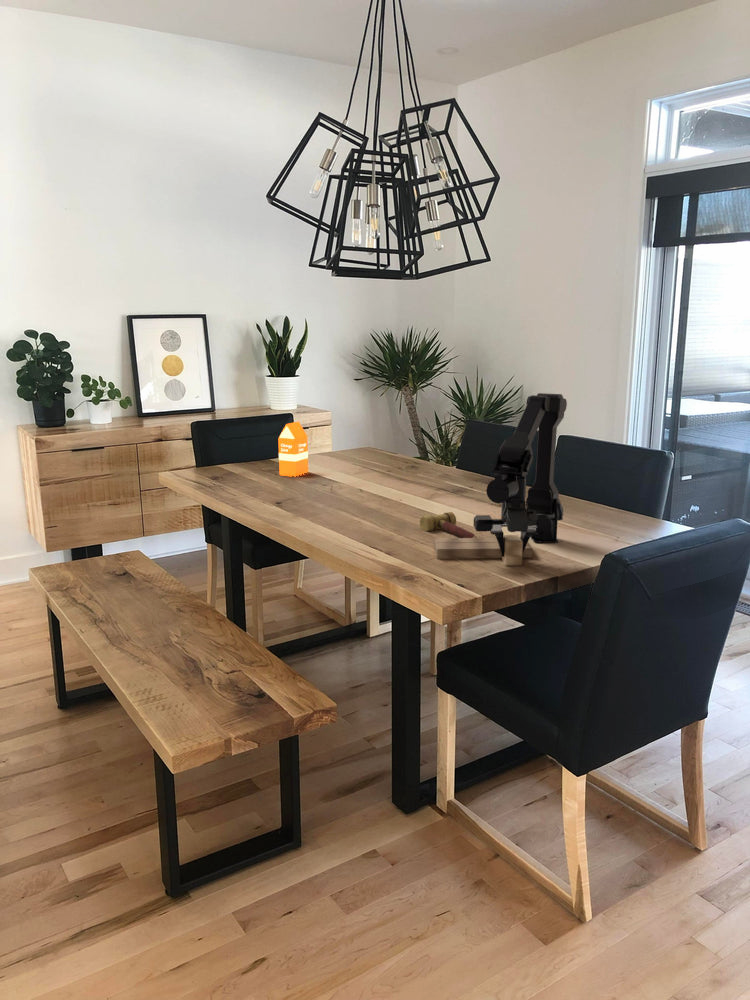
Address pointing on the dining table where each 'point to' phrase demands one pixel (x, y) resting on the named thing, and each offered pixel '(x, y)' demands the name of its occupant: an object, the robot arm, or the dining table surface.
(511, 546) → the block
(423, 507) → the dining table surface
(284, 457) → the orange juice
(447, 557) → the plank
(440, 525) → the gavel
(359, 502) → the dining table surface
